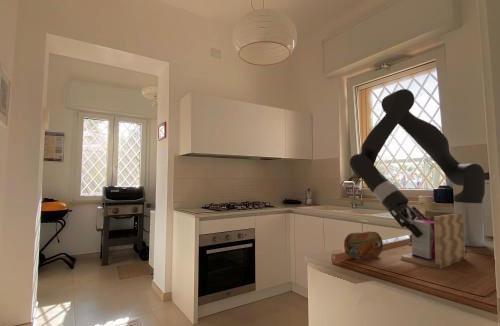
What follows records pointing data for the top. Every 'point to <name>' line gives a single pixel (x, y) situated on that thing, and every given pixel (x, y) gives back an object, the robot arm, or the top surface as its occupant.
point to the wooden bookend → (444, 240)
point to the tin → (363, 245)
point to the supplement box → (424, 240)
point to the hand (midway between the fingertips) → (426, 234)
